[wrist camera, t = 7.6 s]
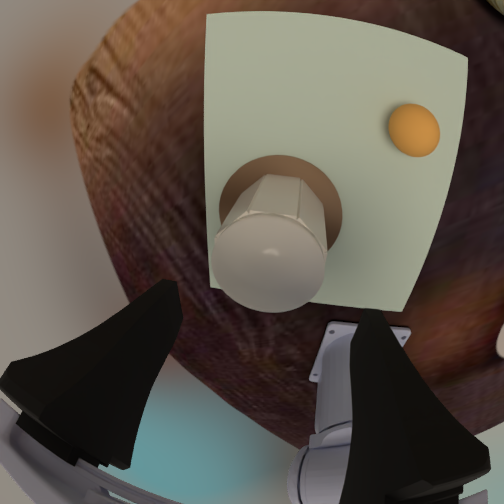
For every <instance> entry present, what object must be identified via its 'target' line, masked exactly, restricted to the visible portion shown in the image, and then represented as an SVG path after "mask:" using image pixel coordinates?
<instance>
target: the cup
mask: <svg viewBox="0 0 504 504" xmlns="http://www.w3.org/2000/svg"><path fill="white" fill-rule="evenodd" d="M214 242H215V246H214V248H213V251H212V256H211V265H212V271H213V274H214V277H215V279H216V281H217V283H218V284H219V286H220V287H221V288H222V290H223V291H224V292H225V293H226V294H227V295H228V296H229V297H231V298H232V299H233V300H235V301H236V302H238V303H239V304H241V305H243V306H245V307H248V308H250V309H254V310H257V311H262V312H284V311H289V310H293V309H296V308H298V307H300V306H302V305H304V304H306V303H307V302H308V301H310V300H311V299H312V298H313V297H314V296H315V295H316V294H317V292H318V291H319V289H320V287H321V285H322V283H323V280H324V274H325V262H326V258H327V240H326V229H325V218H324V209H323V204H322V202H321V201H320V200H319V199H318V197H317V196H316V195H315V194H314V192H313V191H312V190H311V189H310V187H309V186H308V185H307V184H306V183H305V181H304V180H303V179H302V180H301V181H300V178H298V177H290V176H281V175H272V174H267V175H264V176H262V177H261V178H260V179H259V180H257V181H256V182H255V183H254V184H253V185H251V186H250V187H249V188H248V189H246V190H245V191H244V192H243V193H241V195H240V196H239V198H238V200H237V201H236V203H235V204H234V206H233V208H232V209H231V211H230V212H229V214H228V216H227V217H226V219H225V221H224V222H223V224H222V226H221V227H220V229H219V230H218V232H217V234H216V235H215V238H214Z"/></svg>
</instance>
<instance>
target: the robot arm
mask: <svg viewBox="0 0 504 504" xmlns="http://www.w3.org/2000/svg"><path fill="white" fill-rule="evenodd" d="M182 320H183V314H182V309H181V304H180V298H179V293H178V287H177V281H171V280H166V279H162V280H161V281H159V282H158V283H157V284H155V285H154V286H152V287H151V288H150V289H149V290H147V291H146V292H145V293H143V294H142V295H141V296H139V297H138V298H137V299H135V300H134V301H133V302H131V303H130V304H129V305H127V306H126V307H125V308H123V309H122V310H120V311H119V312H118V313H116V314H115V315H113V316H112V317H110V318H109V319H107V320H106V321H104V322H103V323H101V324H100V325H98V326H97V327H95V328H93V329H92V330H90V331H88V332H87V333H85V334H83V335H81V336H80V337H77V338H76V339H73V340H71V341H69V342H67V343H65V344H63V345H61V346H59V347H56V348H54V349H51V350H49V351H46V352H43V353H41V354H38V355H35V356H32V357H28V358H24V359H21V360H17V361H13V362H11V363H10V364H9V366H8V367H7V369H6V371H5V372H4V374H3V375H2V376H1V378H0V390H1V391H2V392H3V393H4V394H5V395H6V396H7V397H8V398H9V399H10V400H11V401H12V402H14V403H15V404H16V405H17V406H18V407H19V408H20V409H21V410H22V413H21V415H20V414H18V413H17V412H16V411H15V410H14V409H13V408H12V407H10V406H9V405H8V404H7V403H6V402H5V401H4V400H3V399H0V464H1V465H2V466H3V467H4V469H5V470H6V471H7V472H8V474H9V475H10V476H11V478H12V479H13V480H14V481H15V482H16V484H17V485H18V486H19V487H20V488H21V489H22V490H23V492H24V493H25V494H26V495H27V496H28V497H29V498H30V499H31V500H32V501H33V502H34V503H35V504H130V503H127V502H125V501H122V500H120V499H117V498H114V497H112V496H110V495H109V492H108V490H109V491H111V492H113V493H115V494H117V495H119V496H121V497H123V498H125V499H128V500H130V501H132V502H134V503H137V504H181V503H179V502H175V501H173V500H170V499H166V498H163V497H161V496H158V495H156V494H153V493H150V492H148V491H145V490H143V489H140V488H138V487H136V486H133V485H131V484H129V483H126V482H124V481H122V480H120V479H118V478H116V477H114V476H112V475H109V474H107V473H106V472H104V471H102V470H100V469H98V466H99V464H101V465H103V466H105V467H108V465H109V464H111V465H113V466H115V467H117V468H119V469H121V470H125V469H128V468H130V465H131V459H132V454H133V449H134V443H135V440H136V435H137V432H138V428H139V424H140V421H141V418H142V414H143V411H144V408H145V405H146V402H147V399H148V396H149V394H150V391H151V388H152V386H153V384H154V382H155V379H156V378H157V376H158V373H159V372H160V369H161V368H162V366H163V364H164V362H165V359H166V358H167V356H168V354H169V352H170V350H171V348H172V346H173V344H174V342H175V340H176V337H177V334H178V332H179V329H180V326H181V323H182ZM330 330H333V331H330ZM410 334H411V331H410V329H409V328H403V327H390V326H389V324H388V322H387V321H386V319H385V317H384V316H383V314H382V312H381V311H380V309H372V308H364V311H363V313H362V316H361V318H360V321H359V323H358V324H355V323H345V322H336V321H332V322H330V323H328V325H327V328H326V331H325V334H324V337H323V340H322V343H321V346H320V349H319V351H318V354H317V357H316V360H315V362H314V365H313V368H312V370H311V373H310V376H309V380H310V381H312V382H318V388H317V403H316V416H315V431H316V434H314V435H310V442H309V445H307V446H304V447H303V448H301V449H300V450H299V452H298V453H297V455H296V456H295V457H294V459H293V460H292V463H291V465H290V468H289V472H288V479H287V490H288V496H289V499H290V501H291V503H292V504H488V496H487V490H483V491H481V492H479V493H476V494H473V495H471V496H468V497H466V498H463V499H460V500H459V494H462V493H463V485H464V484H467V483H469V482H471V481H473V480H475V479H477V478H479V477H481V476H483V475H485V474H487V473H488V472H489V471H490V469H491V465H490V456H489V449H488V447H487V446H486V445H484V444H483V443H482V442H481V441H480V440H478V439H477V438H476V437H475V436H473V435H472V434H471V433H470V432H469V431H468V430H467V429H466V428H465V427H464V426H462V425H461V424H460V423H459V422H458V421H457V420H456V419H455V418H454V417H453V416H452V414H451V413H450V412H449V411H448V410H447V409H446V408H445V407H444V405H443V404H442V403H441V402H440V401H439V400H438V398H437V397H436V396H435V395H434V393H433V392H432V391H431V389H430V388H429V387H428V386H427V384H426V383H425V382H424V380H423V379H422V377H421V376H420V374H419V373H418V371H417V370H416V368H415V367H414V365H413V364H412V362H411V361H410V359H409V358H408V356H407V354H406V353H405V351H404V349H403V348H402V347H403V346H404V344H405V342H406V341H407V339H408V337H409V336H410Z"/></svg>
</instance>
